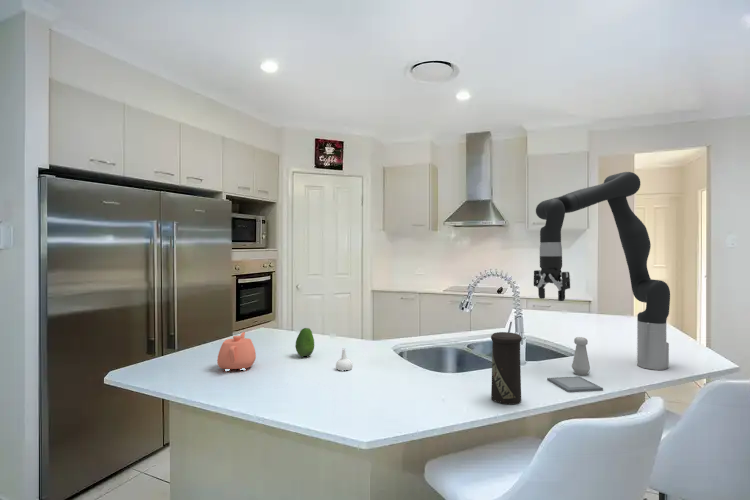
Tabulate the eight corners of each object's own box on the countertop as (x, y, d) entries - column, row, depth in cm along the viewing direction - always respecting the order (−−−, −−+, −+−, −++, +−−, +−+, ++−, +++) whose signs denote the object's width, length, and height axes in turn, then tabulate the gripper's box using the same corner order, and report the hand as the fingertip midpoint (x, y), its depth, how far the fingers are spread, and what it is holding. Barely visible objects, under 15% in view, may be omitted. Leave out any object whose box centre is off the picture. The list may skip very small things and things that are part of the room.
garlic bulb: (355, 370, 155) (357, 349, 156) (343, 372, 151) (345, 350, 151) (344, 367, 160) (345, 346, 160) (332, 369, 155) (333, 347, 156)
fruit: (318, 355, 174) (318, 327, 174) (305, 360, 168) (305, 330, 167) (304, 353, 178) (304, 325, 178) (291, 357, 172) (291, 328, 172)
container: (486, 395, 128) (486, 330, 128) (514, 394, 129) (514, 329, 129) (497, 405, 119) (497, 336, 119) (527, 404, 120) (527, 335, 120)
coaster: (579, 378, 144) (579, 376, 144) (603, 390, 132) (603, 387, 132) (547, 380, 142) (547, 377, 142) (568, 392, 130) (568, 389, 130)
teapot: (260, 360, 168) (260, 330, 168) (249, 375, 148) (249, 341, 148) (226, 360, 167) (226, 330, 167) (211, 376, 147) (211, 342, 147)
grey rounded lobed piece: (592, 376, 146) (592, 339, 146) (574, 375, 147) (574, 339, 147) (586, 371, 152) (587, 336, 152) (570, 370, 153) (570, 335, 153)
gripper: (574, 255, 145) (575, 301, 146) (542, 254, 158) (543, 297, 158) (559, 255, 142) (560, 302, 142) (528, 255, 155) (528, 298, 155)
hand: (551, 299), depth 150 cm, fingers open, 8 cm apart
